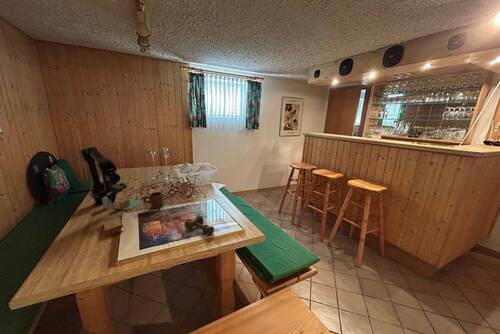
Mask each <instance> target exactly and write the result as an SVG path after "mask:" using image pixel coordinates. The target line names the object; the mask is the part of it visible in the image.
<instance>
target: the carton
mask: <svg viewBox="0 0 500 334" xmlns="http://www.w3.org/2000/svg"><path fill="white" fill-rule="evenodd" d="M102 222H103V223H102V224H103V227H104V233H105V237H109V236H113V235H115V234H119V233H121V232H120V231H121V228H122V227H123V228H124V224H123V223H122V219H121V216H120V214H119V213H118V214H114V215H110V216H107V217H104V218H102Z"/></svg>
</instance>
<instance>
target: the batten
mask: <svg viewBox="0 0 500 334" xmlns="http://www.w3.org/2000/svg"><path fill="white" fill-rule="evenodd" d="M112 209H115V206H114V207H112ZM115 210H116V209H115ZM119 210H121V211H129V209H127V208H121V209H119Z"/></svg>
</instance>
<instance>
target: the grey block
mask: <svg viewBox="0 0 500 334" xmlns="http://www.w3.org/2000/svg"><path fill="white" fill-rule="evenodd" d="M102 201H103V204H102V206H103V208H104V209H106V210H110V209H113V207H114V203H112V202H111V201H110V200H109V199H108V198H107V197H104V198H102Z"/></svg>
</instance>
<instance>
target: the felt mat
mask: <svg viewBox="0 0 500 334" xmlns="http://www.w3.org/2000/svg"><path fill="white" fill-rule="evenodd" d="M128 200H130V206H127V207H124V208H127V209H128V210H132V209H134V208H136V207H137V206H139V205H142V204H143V203H144V204H145V202H144V201H143V200H138V199H137V200H136V199H133V198H132V199H130V198H129V199H128Z"/></svg>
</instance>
